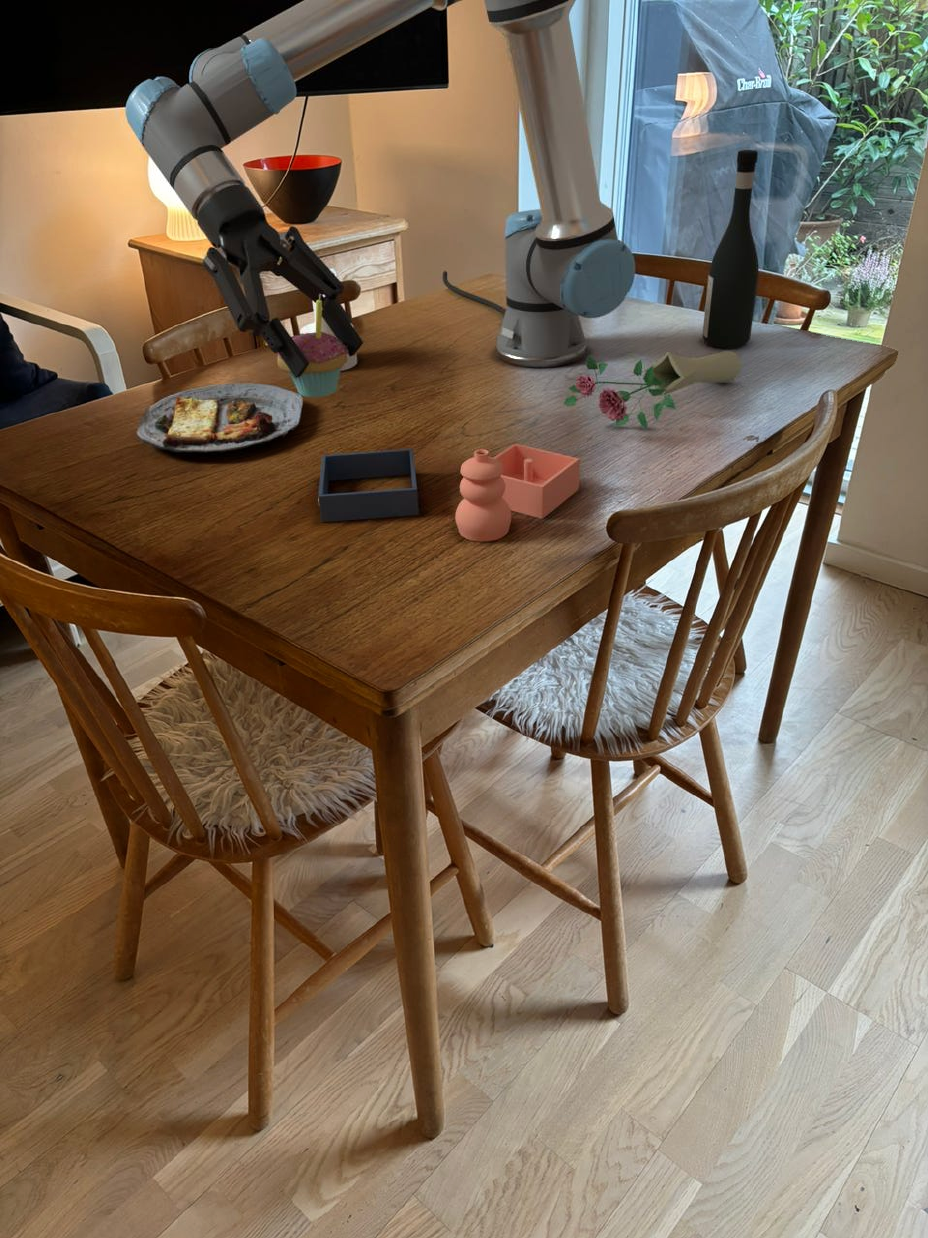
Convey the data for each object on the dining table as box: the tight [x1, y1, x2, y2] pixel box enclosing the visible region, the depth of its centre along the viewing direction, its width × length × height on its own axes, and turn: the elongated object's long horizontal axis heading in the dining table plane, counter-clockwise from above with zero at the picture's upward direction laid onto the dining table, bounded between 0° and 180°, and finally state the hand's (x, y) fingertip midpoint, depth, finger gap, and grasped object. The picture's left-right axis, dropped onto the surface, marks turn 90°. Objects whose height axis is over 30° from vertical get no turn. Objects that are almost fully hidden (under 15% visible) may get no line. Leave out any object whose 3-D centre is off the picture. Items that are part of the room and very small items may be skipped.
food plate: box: [135, 382, 304, 454], centre depth 140 cm, size 25×23×4 cm
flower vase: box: [563, 350, 742, 431], centre depth 136 cm, size 12×12×35 cm
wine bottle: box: [702, 149, 759, 349], centre depth 155 cm, size 8×8×30 cm
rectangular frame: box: [317, 448, 420, 523], centre depth 119 cm, size 12×12×4 cm
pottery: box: [454, 443, 581, 543], centre depth 113 cm, size 18×10×10 cm, turn 146°
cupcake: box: [277, 294, 348, 398], centre depth 115 cm, size 9×8×12 cm
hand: (330, 359), depth 114 cm, fingers closed on cupcake, 8 cm apart
